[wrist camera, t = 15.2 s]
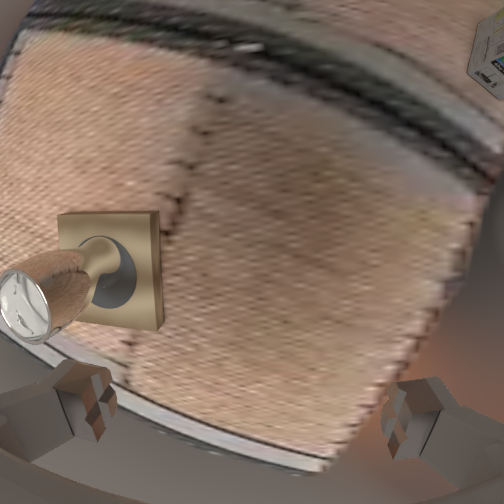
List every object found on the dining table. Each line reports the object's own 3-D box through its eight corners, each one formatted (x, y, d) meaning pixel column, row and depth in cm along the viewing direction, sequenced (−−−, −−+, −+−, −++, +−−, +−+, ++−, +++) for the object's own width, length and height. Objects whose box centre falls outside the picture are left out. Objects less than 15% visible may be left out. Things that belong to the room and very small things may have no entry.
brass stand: (69, 212, 37) (55, 215, 34) (158, 210, 37) (148, 214, 34) (80, 311, 41) (69, 320, 37) (164, 321, 40) (156, 332, 37)
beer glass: (81, 286, 36) (4, 338, 22) (77, 231, 35) (-11, 262, 20) (129, 292, 36) (60, 355, 21) (127, 233, 34) (46, 270, 20)
